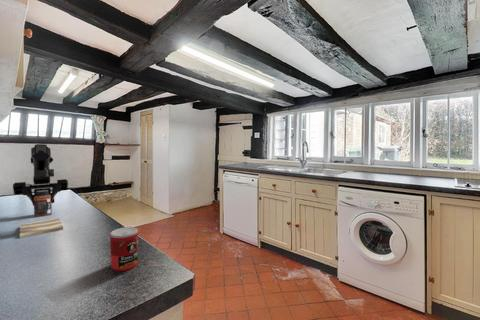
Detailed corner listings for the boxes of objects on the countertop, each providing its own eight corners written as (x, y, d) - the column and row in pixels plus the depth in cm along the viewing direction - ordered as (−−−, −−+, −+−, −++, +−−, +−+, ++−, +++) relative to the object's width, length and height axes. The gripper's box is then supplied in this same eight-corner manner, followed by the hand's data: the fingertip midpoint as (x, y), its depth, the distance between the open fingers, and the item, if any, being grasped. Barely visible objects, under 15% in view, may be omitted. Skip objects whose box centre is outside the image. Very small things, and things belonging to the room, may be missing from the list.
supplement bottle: (54, 214, 101) (53, 190, 100) (37, 218, 95) (36, 192, 95) (48, 212, 103) (47, 189, 103) (31, 216, 98) (30, 191, 98)
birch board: (20, 227, 103) (20, 224, 103) (58, 220, 113) (58, 218, 113) (19, 238, 90) (19, 235, 90) (63, 229, 100) (63, 227, 100)
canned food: (120, 274, 64) (119, 237, 63) (105, 267, 68) (104, 232, 68) (143, 263, 70) (143, 229, 70) (129, 257, 75) (128, 225, 74)
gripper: (12, 164, 95) (10, 193, 87) (67, 162, 107) (69, 188, 100) (14, 180, 101) (13, 208, 94) (66, 177, 114) (68, 202, 106)
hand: (42, 201), depth 98 cm, fingers closed on supplement bottle, 6 cm apart
